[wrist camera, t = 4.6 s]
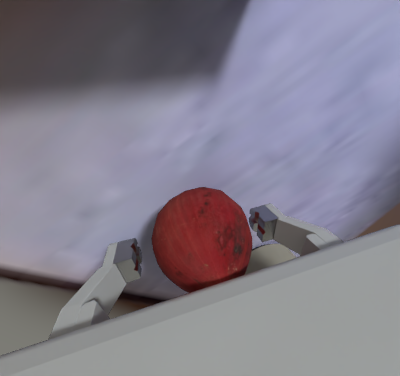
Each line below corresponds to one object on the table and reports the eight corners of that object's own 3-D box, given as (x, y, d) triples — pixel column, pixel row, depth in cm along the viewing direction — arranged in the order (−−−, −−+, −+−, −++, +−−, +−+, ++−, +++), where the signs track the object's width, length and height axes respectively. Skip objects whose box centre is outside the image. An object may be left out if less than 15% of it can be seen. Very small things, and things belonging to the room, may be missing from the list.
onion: (185, 153, 11) (240, 237, 4) (235, 194, 14) (314, 282, 7) (136, 211, 12) (120, 348, 6) (192, 238, 15) (225, 351, 8)
